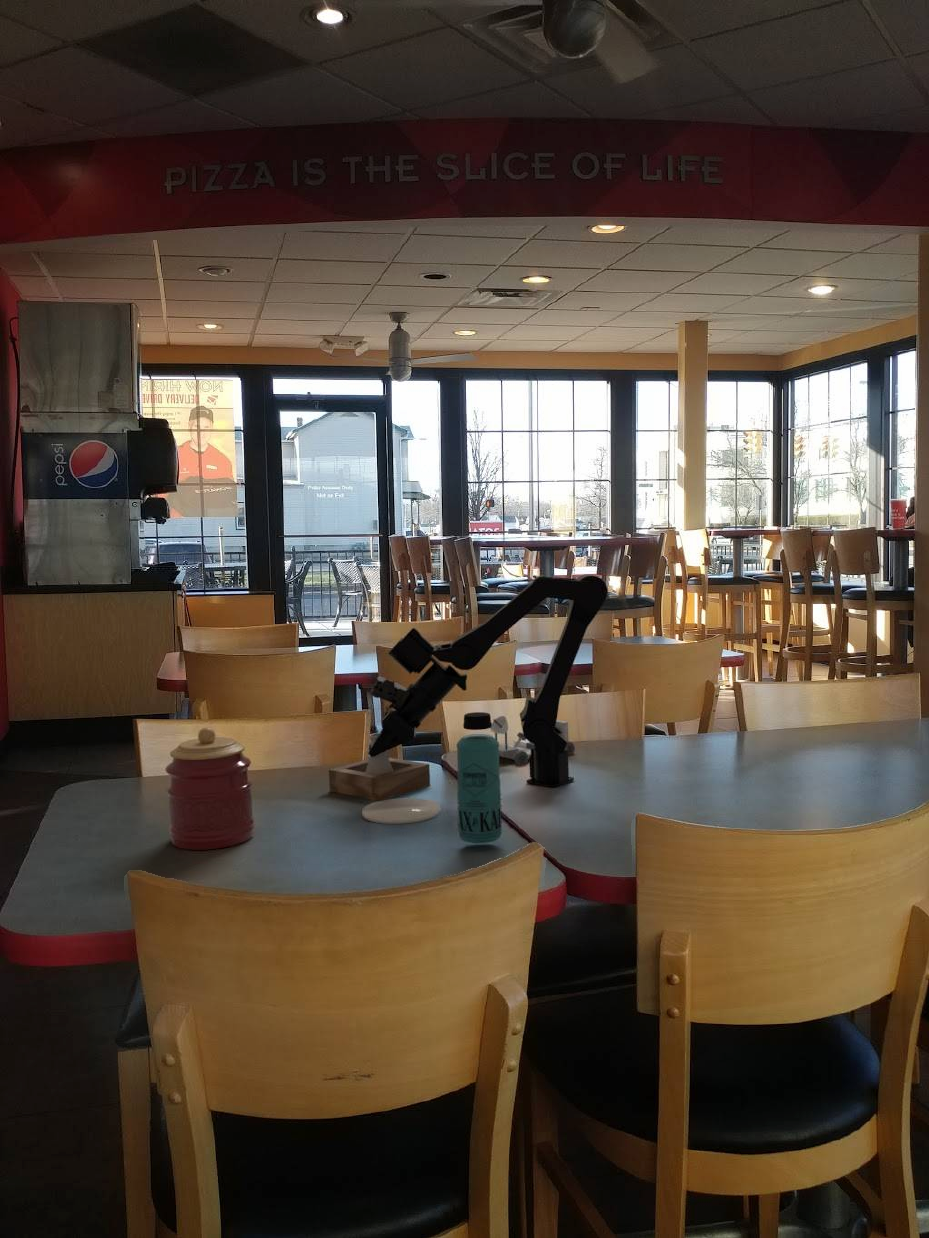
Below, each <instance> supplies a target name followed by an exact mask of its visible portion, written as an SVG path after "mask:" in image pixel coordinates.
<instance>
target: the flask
mask: <svg viewBox="0 0 929 1238" xmlns="http://www.w3.org/2000/svg"><path fill="white" fill-rule="evenodd" d="M379 735H380V732H377V733H374V732H373V733H371V734H369V740H370V744H371V746H370V748H371V747H372V746H373V744H374V743H375V741H376V740H377V738H378V736H379ZM389 758H390V757H389V756H388V752H387V751H385V752H382V753H380V754H378V755H376V756H374V757H371V756H370V755H369V757H368V759H369V761H368V765H367V769H366V772H365V773H371V774H377V775H381V774H384V773H388V772H391V771H393V769H392V766H391V764H390V761H389Z"/></svg>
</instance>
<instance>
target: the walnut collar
mask: <svg viewBox="0 0 929 1238" xmlns="http://www.w3.org/2000/svg"><path fill="white" fill-rule="evenodd" d="M388 758H389V761H390V764H391V766H392V769H393V771H391V772H388V773H384V774H381V775H377V774H371V773H365V772H366V769H367V765H368V761H369V758H368V759H364V760H360V761H356V762H353V763H349V764H345V765H342V766H338V767H334V768H331V769H330V768H329V769H328V783H329V792H331V793H338V794H343V795H348V796H352V797H358V798H364V799H367V800H373V801H376V802H378V801H383V800H389V799H393V798H394V797H395V798H396V797H398V796H401V795H404V794H407V793H410V792H414V791H417V790H420V789H423V788H427V787H431V777H430V776H431V772H430V771H431V770H430V764H429V763H423V762H418V761H414V760H413V761H412V760H406V759H400V758H399V759H398V758H391V757H388Z"/></svg>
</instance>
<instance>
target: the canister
mask: <svg viewBox="0 0 929 1238" xmlns="http://www.w3.org/2000/svg"><path fill="white" fill-rule="evenodd" d="M197 735H198V736H197V738H195V739H190V740H185V741H182V742H181V743H179V745H178V746H177V747H176V748H174V749H173V750H171V751H170V752H169V755H170V757H171V758H172V762H170V763H168V765H167V766H166V767H165V772H166V773H167V774H168V775H169V776H168V777H169V785H168V786H167V788H166V794H167V795H168V796H167V797H168V809H169V811H168V812H169V827H168V830H169V838H171V843H172V845H173V846H175V847H177V848H179V849H184V850H192V851H194V850H195V851H199V850H200V851H207V850H216V849H223V848H224V849H225V848H229V847H233V846H235V845H239V844H242V843H244V842H246V841H249V840H250V839H251V838H252V837H253V835H254V829H255V817H254V811H253V796H252V795H253V793H252V785H253V780H251V778H250V776H249V767H250V765H251V764H252V761H251V759H250V758H249V757H247V756H245V755H244V753H243V752H244V750H245V749H246V748H245V747H246V746H245V745H244V744H242V743H240V742H238V741H236V739H234V738H231V737H225V736H224V737H223V736H222V737H221V736H220V737H219V736H216V732H215V730H214V729H213V728H211V727H204V728H201V729H200V730H199V731H198V734H197Z"/></svg>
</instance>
